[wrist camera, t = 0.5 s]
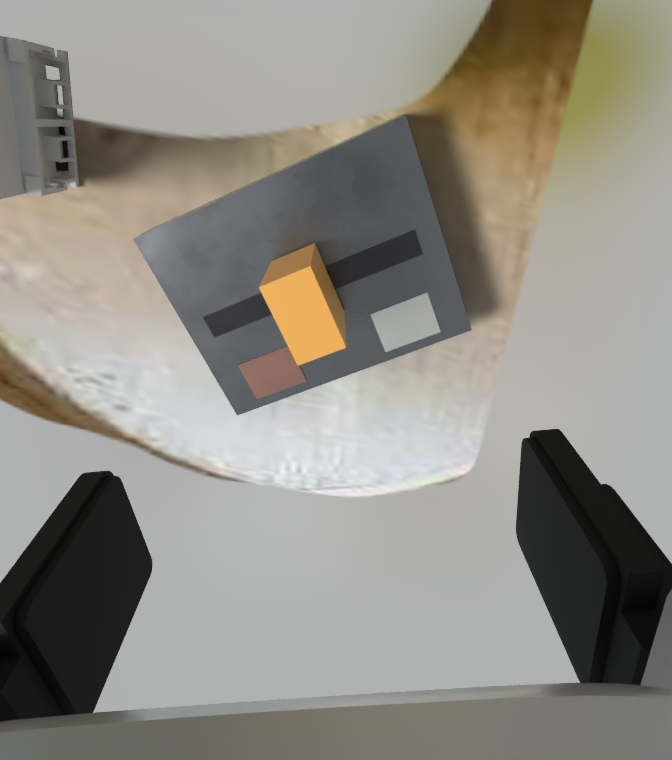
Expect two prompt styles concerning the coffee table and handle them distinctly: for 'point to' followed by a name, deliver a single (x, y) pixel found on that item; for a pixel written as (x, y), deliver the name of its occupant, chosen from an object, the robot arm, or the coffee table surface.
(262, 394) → the panel
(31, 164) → the circuit breaker
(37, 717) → the robot arm
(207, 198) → the coffee table surface
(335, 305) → the block
